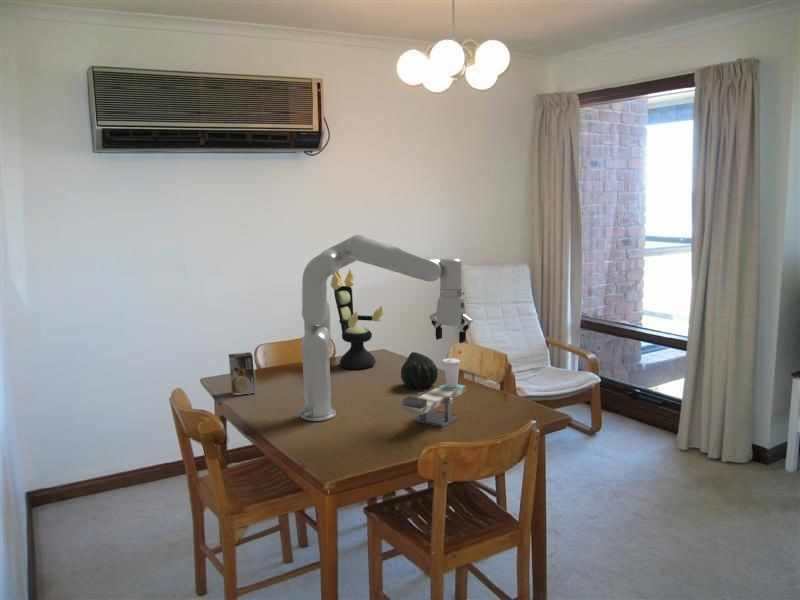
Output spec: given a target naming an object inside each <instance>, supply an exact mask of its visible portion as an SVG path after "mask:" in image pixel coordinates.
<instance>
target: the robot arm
mask: <svg viewBox="0 0 800 600" xmlns="http://www.w3.org/2000/svg"><path fill="white" fill-rule="evenodd" d="M354 262H362V263H363V264H368V265H372V266H375V267H378V268H382V269H385V270H387V271H388V270H389V271H391V272H394V273H398V274H401V275H404V276H408V277H411V278H414V279H417V280H421V281H425V282H428V283H429V282H435V281H437V280H438V279H439V283H440V284H439V288H440V289H439V296H438V299H437V304H436V312H434V313H432V314H429V319H430V321H431V324H432V326H433V328H434V329H435V340H441V339H443V327H442V326H452V327H457V328H458V329H459V332H458V342H459V344H463V343H465V342H466V340H467V339H466V338H467V331H468V330H469V329H470V328H471V325H472V324H473V321H474V320H473V319H472V318H471V317H469V316H468V315H467V311H466V310H467V309H466V303H465V297H462V296H464V295H465V291H464V290H463V289H462V279H463V278H462V274H463V273H462V265H463V264H462V261H461V259H460V258H456V257H454V258H453V257H449V258H448V257H447V258H436V257H421V256H418V255H416V254H412V253H409V252H407V251H405V250H403V249H401V248H400V247H398V246H395V245H392V244H389V243H385V242H381V241H377V240H375V239H373V238H372V239H371V238H367V237H366V236H364V235H362V234H355V235H352V236H349V238H347V239H345V240H343V241H341V242H339V243H337V244H335V245H333V246H331V247H329V248H327V249H324V250H323V251H322V252H321V253H319V254H318V255H317V256H315V257H313V258H311V260H310V261H309V262H307V264H306V266H305V268H304V270H303V273H302V280H301V281H302V286H301V287H302V289H301V291H302V292H301V298H302V299H301V301H302V302H301V303H302V304H301V305H302V307H301V315H302V316H301V317H302V319H303V320H304V321H303V322H304V323H303V325H304V333H303V334H304V335H303V337H302V340H301V345H300V349H301V360H302V375H303V396H304V400H303V401H304V405H302V408H301V409H300V410H297V411H296V412H295V416H296V418H301V419H303V420H306V421H309V422H310V421H311V422H321V421H327V420H331V419H333V418H334V417H335V416H336V415H337V411H336V410H335V409H334V408H332V395H331V394H332V391H331V390H332V389H331V388H332V387H331V370H330V368H331V366H330V365H331V364H330V342H331V308H330V304H329V302H328V298H327V296H328V295H327V291H328V288H327V282H328V279H329V277H330V276H331V277H332V275H333V274H335V273H336V272H338V271H340V269H342V268H345V267H347V266H349V265H350V264H352V263H354Z"/></svg>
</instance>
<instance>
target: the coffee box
mask: <svg viewBox="0 0 800 600" xmlns="http://www.w3.org/2000/svg"><path fill="white" fill-rule="evenodd" d="M253 358H254V357H253V354H252V352H250V351H249V352H242V353H241V352H238V353H229V354H228V363H229V365H228V366H229V376H230V377H229V379H230V390H232V392H231V395H232V394H235V393H250V392H255V393H256V384H255V372H254V371H255V370H254V360H253Z"/></svg>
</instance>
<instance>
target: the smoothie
mask: <svg viewBox="0 0 800 600" xmlns="http://www.w3.org/2000/svg"><path fill="white" fill-rule="evenodd" d="M449 351H450V352H449V353H450V357H448V358H444V359H442V364H443V370H444V376H445V384H447V387H449V388H455V387H457V384H458V381H459V374H460V373H459V371H460V370H459V369H460V365H461V360H460V359H459V358H456V357H453V348H452V347H450V350H449Z"/></svg>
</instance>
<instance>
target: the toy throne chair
mask: <svg viewBox="0 0 800 600" xmlns="http://www.w3.org/2000/svg"><path fill="white" fill-rule="evenodd" d="M342 277H343V276H342V274H341V273H340V270H338V272H336V273H335V274H333V276H332V275H331V283H330V286H331V287H330V288H332V289H333V294H334V299H335V303H336V308H337V312H338V317H339V324H340V326H341V327H340V328H341V339H342V340H343V341H344V342H345V343H346V342H347V343H350V348H349V349H348V350H347V351H346V352H345V353H344V354H343V355H342V356H341V358H340V360H339V365H340V366H341V368H344V369H348V370H363V369H368V368H369V369H370V368H372V367H374V366H375V364H376V363H377V361H376V358H375V357H374V355H373V354H372V353H371V352H370V351H368V350H367V349H366V348H365V347H364V343H365V342H369V341H371V339H372V338H373V334H372V332H371V331H370V330H369V328H366V327H365V326H362V325H357V322H358V321H368V322H369V321H373V322H382V320H381V317H382V316H383V315H384V314H383V313H384V312H383V310H384V309H383V305H381V306H380V307H379V308H376V310H375V311H374V313H373V314H372V315H360V314H359V315H358V311H355V312H354V303H353V302H354V301H353V299H354V298H353V289H352V287H353V286H354V284H355V283H354V278H355V276H354V274H353V272H352V269H351V268H349V269H348V272H347V274H346V276H345V279H344V283H343V282H342V281H343V280H342ZM343 284H345V285H343ZM373 365H374V366H373Z"/></svg>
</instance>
